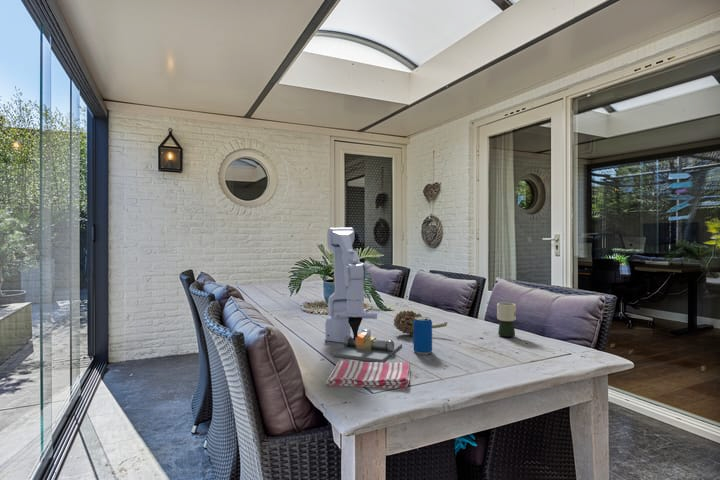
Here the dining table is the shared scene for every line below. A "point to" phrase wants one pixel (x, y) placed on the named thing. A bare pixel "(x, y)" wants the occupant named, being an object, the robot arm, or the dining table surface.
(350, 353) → the base board
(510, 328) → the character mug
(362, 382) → the dish towel
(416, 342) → the beverage can
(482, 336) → the dining table surface
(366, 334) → the valve lever
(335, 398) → the dining table surface
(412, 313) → the pine cone
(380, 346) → the valve pipe
